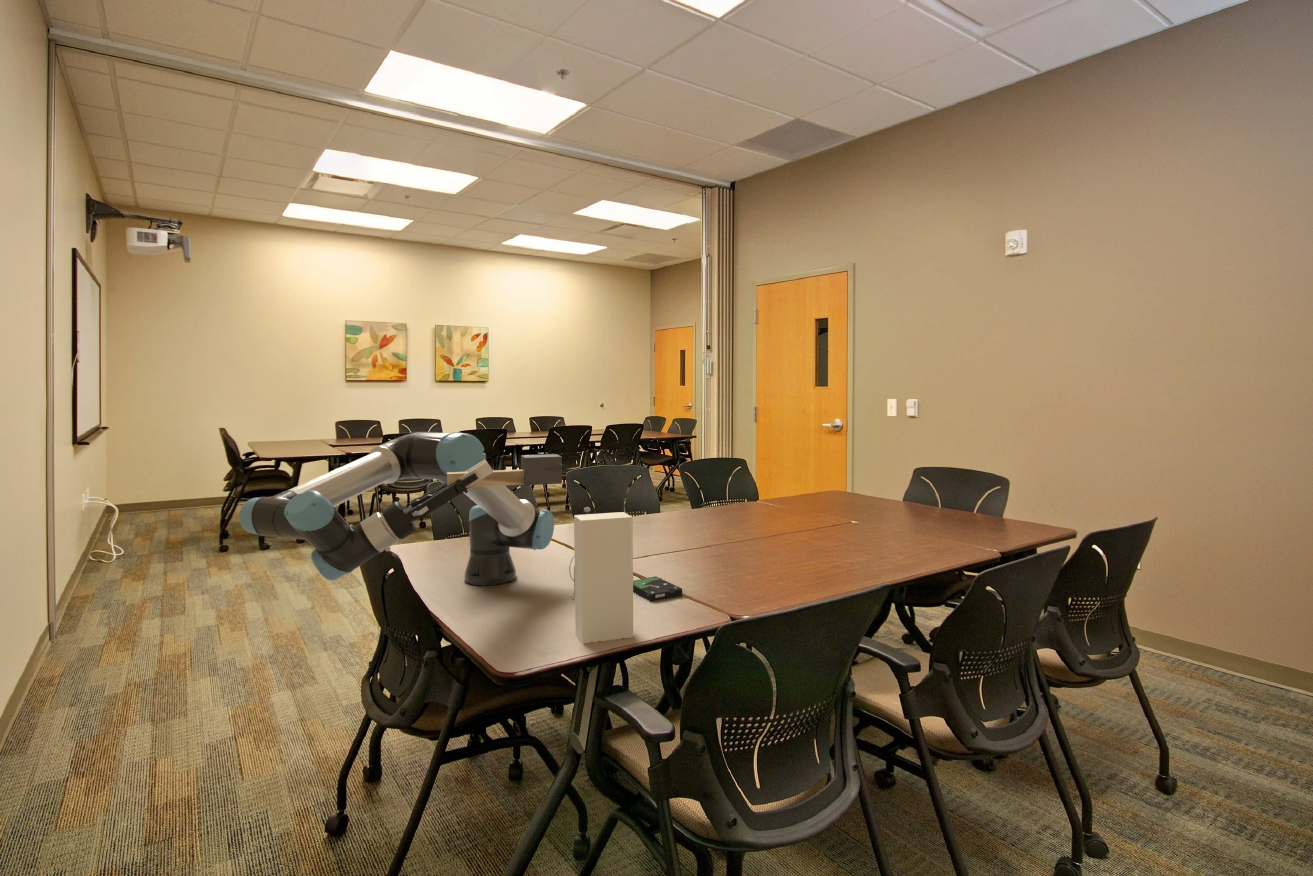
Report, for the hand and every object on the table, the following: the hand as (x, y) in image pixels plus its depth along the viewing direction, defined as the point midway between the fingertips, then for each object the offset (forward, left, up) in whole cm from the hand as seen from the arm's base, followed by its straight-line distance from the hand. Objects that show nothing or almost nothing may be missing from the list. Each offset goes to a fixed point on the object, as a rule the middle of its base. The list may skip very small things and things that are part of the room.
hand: (489, 465), depth 147 cm
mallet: (0, +3, -4) cm, 5 cm away
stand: (0, +25, -41) cm, 48 cm away
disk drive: (-28, +47, -41) cm, 69 cm away
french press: (-31, +28, -41) cm, 58 cm away
